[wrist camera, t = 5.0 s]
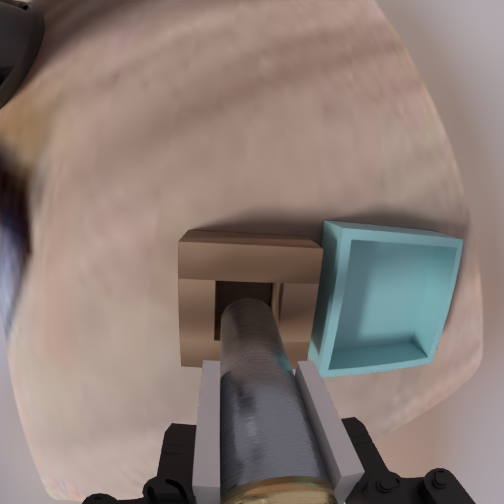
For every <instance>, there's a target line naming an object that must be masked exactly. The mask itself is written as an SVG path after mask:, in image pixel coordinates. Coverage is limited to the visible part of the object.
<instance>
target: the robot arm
mask: <svg viewBox="0 0 504 504" xmlns="http://www.w3.org/2000/svg"><path fill="white" fill-rule="evenodd" d="M43 30H44V21H43V17H42V14H41V13H40V12H39V11H38V10H37V9H36V8H34V7H33V6H32V5H31V4H29V3H26V2H21V1H15V0H0V108H1V107H2V106H3V105H4V104H5V103H6V102H7V100H8V99H9V98H10V97H11V96H12V94H13V93H14V92H15V91H16V89H17V88H18V86H19V85H20V84H21V82H22V81H23V79H24V77H25V76H26V74H27V72H28V71H29V69H30V67H31V65H32V63H33V61H34V59H35V57H36V54H37V52H38V49H39V47H40V44H41V40H42V36H43ZM295 379H296V382H297V385H298V388H299V391H300V394H301V397H302V400H303V403H304V406H305V409H306V412H307V415H308V417H309V420H310V423H311V426H312V429H313V432H314V435H315V438H316V441H317V444H318V447H319V450H320V453H321V455H322V458H323V461H324V464H325V467H326V470H327V473H328V476H329V479H330V482H331V485H332V488H333V491H334V493H335V496H336V499H337V502H338V504H344V502H345V503H346V504H475V502H474V501H473V500H472V498H471V497H470V496H469V494H468V493H467V492H466V491H465V489H464V488H463V487H462V485H461V484H460V483H459V482H458V480H457V479H456V478H455V476H454V475H453V474H452V473H451V472H450V471H448V470H446V469H443V468H436V469H433V470H431V471H430V472H428V473H427V474H426V475H425V477H419V478H418V477H417V478H401V477H400V476H399V475H397V474H396V473H393V472H390V471H389V470H388V469H387V467H386V466H385V464H384V462H383V460H382V458H381V456H380V454H379V452H378V450H377V448H376V447H375V445H374V443H372V439H371V437H370V435H368V434H369V433H368V431H367V430H366V428H365V426H364V424H363V423H361V422H360V421H359V420H358V419H357V418H355V417H351V418H345V419H340V416H339V414H338V412H337V410H336V408H335V406H334V403H333V401H332V399H331V397H330V395H329V393H328V390H327V388H326V386H325V384H324V382H323V380H322V378H321V375H320V373H319V371H318V369H317V367H316V365H315V363H314V361H298V362H297V368H296V373H295ZM142 493H143V495H144V497H142V498H139V499H131V500H116V499H115V498H114V497H112V496H110V495H108V494H101V493H98V494H92V495H90V496H89V497H87V498H86V499H85V500H84V502H83V503H82V504H220V361H207V360H203V367H202V376H201V386H200V396H199V406H198V417H197V425H187V424H175V423H172V424H171V425H170V427H169V428H168V429H167V430H166V431H165V434H164V439H163V445H162V450H161V455H160V461H159V466H158V472H157V476H156V477H154V478H152V479H150V480H148V481H147V483H146V484H145V485H144V487H143V492H142Z"/></svg>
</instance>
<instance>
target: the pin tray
mask: <svg viewBox="0 0 504 504" xmlns="http://www.w3.org/2000/svg"><path fill="white" fill-rule="evenodd" d="M463 241H464V240H463V239H460V238H456V237H453V236H450V235H447V234H443V233H440V232H436V231H429V230H420V229H411V228H402V227H392V226H382V225H372V224H362V223H350V222H339V221H327V220H324V224H323V234H322V243H321V247H322V248H323V257H322V266H321V273H320V281H319V288H318V295H317V302H316V309H315V315H314V321H313V328H312V334H311V340H310V345H309V351H308V357H309V359H310V361H314V363H315V365H316V367H317V369H318V371H319V373H320V375H321V378H322V377H335V376H346V375H356V374H365V373H373V372H380V371H387V370H394V369H400V368H406V367H412V366H418V365H423V364H428V363H432V360H433V357H434V354H435V352H436V349H437V346H438V343H439V340H440V337H441V334H442V331H443V328H444V324H445V321H446V318H447V314H448V310H449V307H450V303H451V299H452V295H453V291H454V287H455V283H456V278H457V274H458V269H459V264H460V259H461V253H462V247H463Z"/></svg>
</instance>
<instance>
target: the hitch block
mask: <svg viewBox="0 0 504 504" xmlns="http://www.w3.org/2000/svg"><path fill="white" fill-rule="evenodd" d="M322 257H323V248H322V247H320V246H319V245H318V244H316V243H315V242H313V241H312V240H310V239H309V238H308V237H306V236H293V235H276V234H258V233H238V232H217V231H195V230H188V231H187V232H186V233H185V235H184V236H183V237H182V238H181V239H180V240H179V241H178V299H179V331H180V352H181V366H186V367H201V368H202V367H203V360H207V361H220V336H221V317H222V314H223V313H216V305H217V281H239V282H265V283H272V289H271V300H270V309H271V310H272V312H273V315H274V318H275V321H276V324H277V327H278V330H279V333H280V336H281V338H282V341H283V344H284V347H285V350H286V353H287V356H288V359H289V362H290V365H291V368H292V369H296V368H297V362H298V361H307V356H308V351H309V345H310V340H311V334H312V328H313V321H314V315H315V309H316V302H317V295H318V288H319V281H320V273H321V266H322Z"/></svg>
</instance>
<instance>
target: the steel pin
mask: <svg viewBox="0 0 504 504" xmlns="http://www.w3.org/2000/svg"><path fill="white" fill-rule="evenodd" d="M220 504H338V502H337V499H336V496H335V493H334V491H333V488H332V485H331V482H330V479H329V476H328V473H327V470H326V467H325V464H324V461H323V458H322V455H321V453H320V450H319V447H318V444H317V441H316V438H315V435H314V432H313V429H312V426H311V423H310V420H309V417H308V415H307V412H306V409H305V406H304V403H303V400H302V397H301V394H300V391H299V388H298V385H297V382H296V379H295V376H294V374H293V371H292V368H291V365H290V362H289V359H288V356H287V353H286V350H285V347H284V344H283V341H282V338H281V336H280V333H279V330H278V327H277V324H276V321H275V318H274V315H273V312H272V310H271V309H270V307H269V306H268V305H267V304H266V303H264V302H263V301H261V300H258V299H255V298H242V299H238V300H236V301H234V302H232V303H231V304H229V305H228V306H227V307H226V309H225V310H224V312H223V314H222V317H221V336H220Z"/></svg>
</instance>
